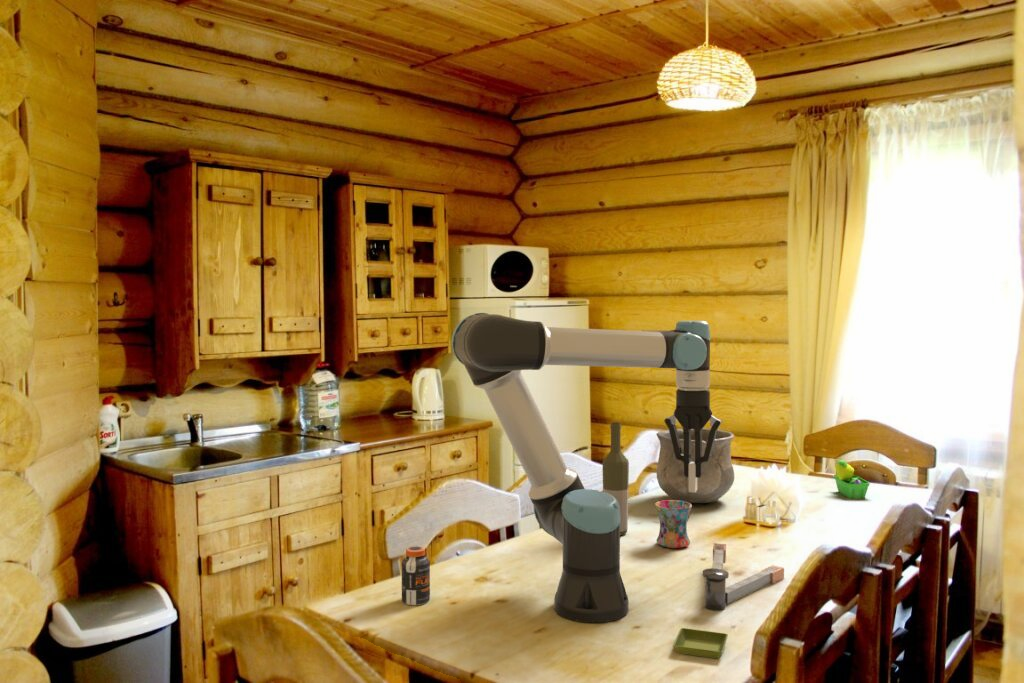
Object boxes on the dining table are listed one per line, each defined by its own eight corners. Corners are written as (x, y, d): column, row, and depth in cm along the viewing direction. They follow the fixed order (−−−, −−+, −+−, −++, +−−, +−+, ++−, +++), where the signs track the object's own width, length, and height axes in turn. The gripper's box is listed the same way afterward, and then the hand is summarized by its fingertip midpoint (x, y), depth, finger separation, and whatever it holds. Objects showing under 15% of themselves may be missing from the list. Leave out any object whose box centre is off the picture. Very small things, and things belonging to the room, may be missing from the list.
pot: (677, 489, 278) (677, 424, 276) (746, 498, 264) (746, 431, 263) (642, 504, 257) (642, 435, 256) (715, 515, 244) (715, 442, 242)
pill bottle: (418, 608, 173) (417, 554, 172) (395, 602, 176) (395, 549, 175) (435, 599, 178) (435, 546, 177) (413, 594, 181) (413, 542, 180)
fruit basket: (870, 499, 262) (871, 463, 261) (842, 499, 262) (842, 463, 262) (856, 490, 273) (856, 456, 273) (829, 491, 273) (829, 456, 273)
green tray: (672, 656, 150) (672, 645, 149) (680, 638, 158) (680, 627, 158) (722, 664, 146) (722, 652, 146) (728, 644, 155) (728, 633, 154)
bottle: (621, 538, 221) (621, 425, 219) (597, 534, 225) (597, 423, 223) (633, 532, 227) (633, 422, 225) (610, 528, 231) (610, 420, 229)
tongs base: (719, 613, 168) (719, 578, 168) (697, 607, 172) (697, 572, 172) (788, 579, 188) (789, 548, 188) (767, 574, 192) (767, 543, 192)
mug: (677, 552, 209) (677, 510, 208) (647, 545, 215) (647, 504, 215) (704, 542, 217) (705, 502, 216) (675, 535, 224) (675, 496, 223)
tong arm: (722, 589, 174) (722, 575, 174) (709, 588, 175) (709, 574, 175) (725, 556, 196) (726, 544, 196) (713, 555, 197) (713, 543, 197)
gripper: (660, 389, 190) (661, 492, 191) (719, 391, 185) (719, 497, 186) (668, 385, 197) (668, 485, 198) (724, 387, 192) (724, 489, 193)
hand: (693, 490), depth 192 cm, fingers closed
